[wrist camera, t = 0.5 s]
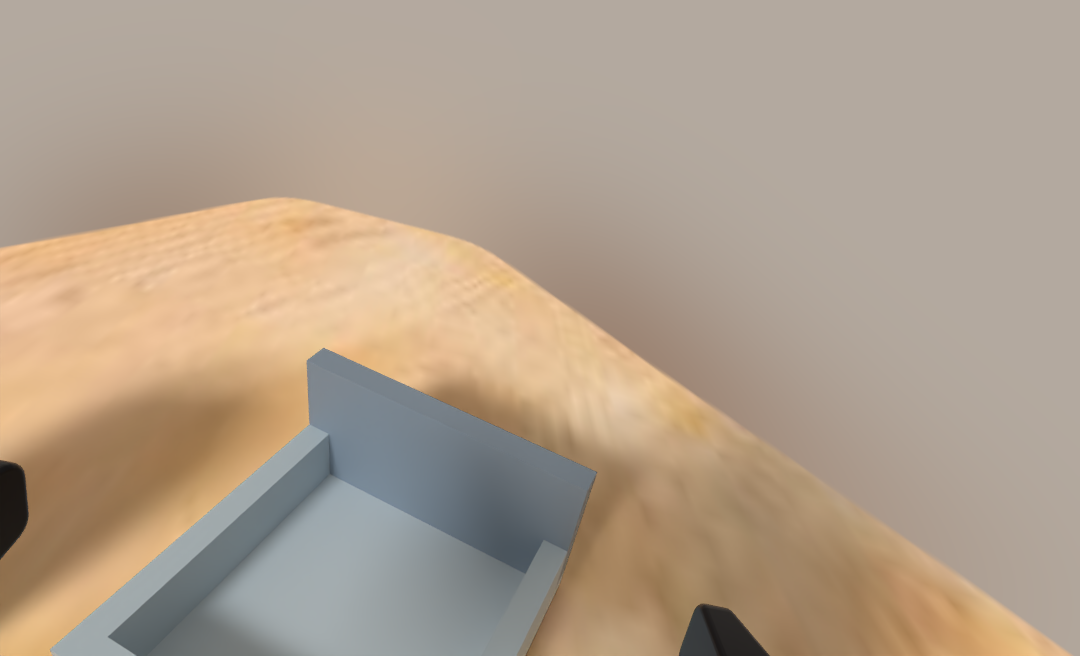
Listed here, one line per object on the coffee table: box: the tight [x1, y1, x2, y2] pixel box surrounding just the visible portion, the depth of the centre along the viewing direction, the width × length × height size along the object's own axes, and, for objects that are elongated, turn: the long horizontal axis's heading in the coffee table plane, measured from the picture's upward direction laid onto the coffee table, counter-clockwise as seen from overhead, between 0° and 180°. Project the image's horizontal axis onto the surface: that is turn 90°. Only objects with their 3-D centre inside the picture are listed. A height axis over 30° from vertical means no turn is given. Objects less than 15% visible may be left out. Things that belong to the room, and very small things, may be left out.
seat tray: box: [50, 348, 597, 656], centre depth 22 cm, size 12×12×7 cm
